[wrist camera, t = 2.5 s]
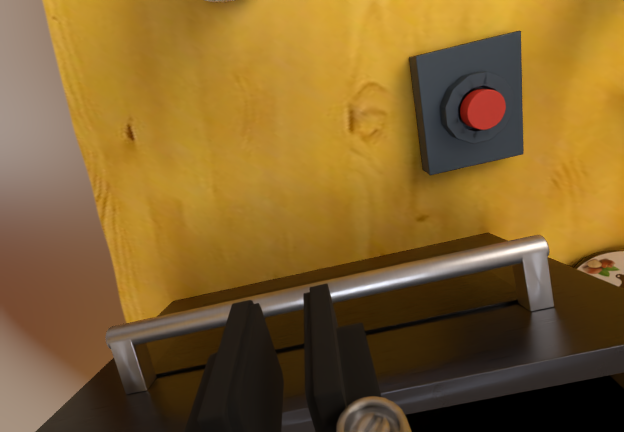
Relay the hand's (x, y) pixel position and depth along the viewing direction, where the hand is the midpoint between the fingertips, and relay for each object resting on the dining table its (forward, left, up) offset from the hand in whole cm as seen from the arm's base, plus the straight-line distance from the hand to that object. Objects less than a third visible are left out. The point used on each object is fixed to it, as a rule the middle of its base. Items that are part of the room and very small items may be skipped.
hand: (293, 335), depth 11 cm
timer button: (-4, +18, -28) cm, 33 cm away
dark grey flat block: (-3, +18, -31) cm, 36 cm away
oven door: (+13, +2, -32) cm, 34 cm away
